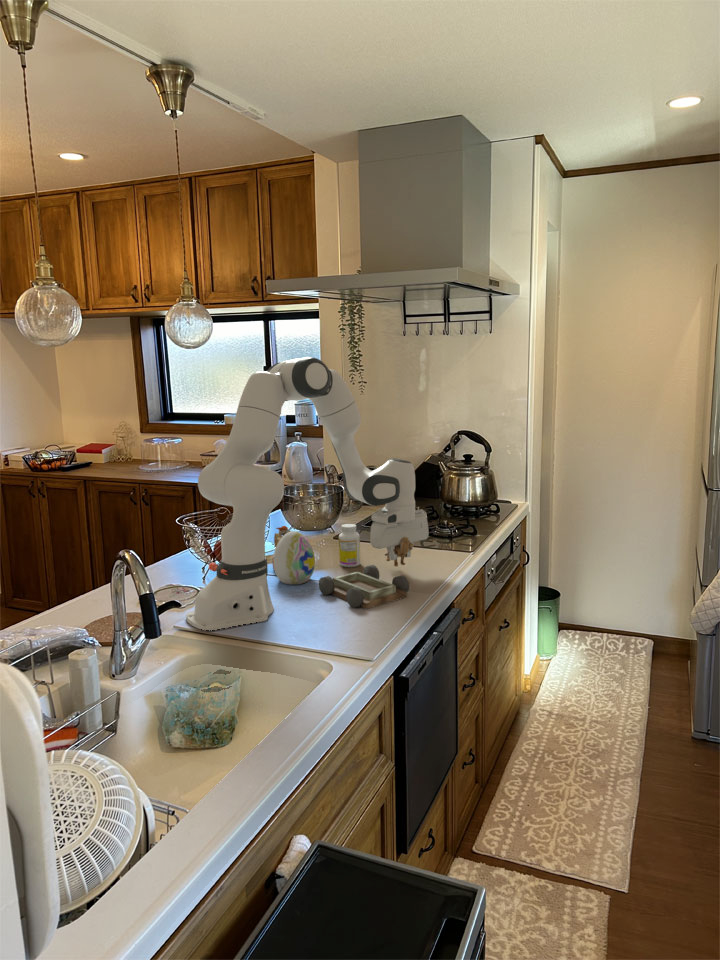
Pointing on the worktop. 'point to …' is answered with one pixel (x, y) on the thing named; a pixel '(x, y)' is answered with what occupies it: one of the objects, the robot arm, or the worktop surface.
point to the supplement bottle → (349, 546)
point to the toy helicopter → (280, 535)
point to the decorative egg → (294, 559)
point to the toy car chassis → (364, 588)
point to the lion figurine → (401, 550)
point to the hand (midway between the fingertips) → (400, 558)
